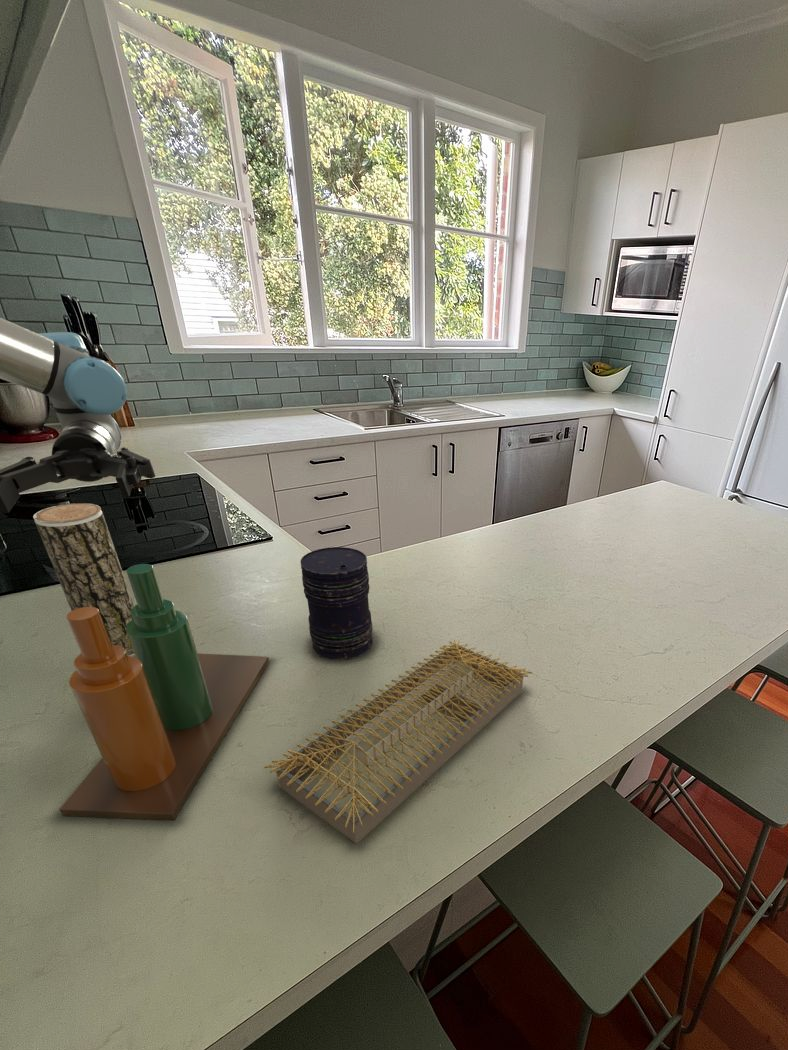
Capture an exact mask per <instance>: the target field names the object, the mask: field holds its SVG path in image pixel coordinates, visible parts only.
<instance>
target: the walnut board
mask: <svg viewBox="0 0 788 1050" xmlns="http://www.w3.org/2000/svg"><path fill="white" fill-rule="evenodd" d="M197 654H198V658H199V661H200V665H201V668H202V672H203V675H204V679H205V682H206V686H207V689H208V693H209V696H210V700H211V704H212V707H213V710H212V713H211V715H210V716H209V717H208V719H206V720H205V721H204V722H202V723H201V724H199V725H197V726H195V727H192V728H189V729H185V730H168V729H165V730H166V733H167V736H168V739H169V742H170V744H171V747H172V750H173V753H174V756H175V759H176V766H175V769H174V771H173V772H172V773H171V775H170V776H169V777H168V778H166V779H165V780H164V781H162V782H161V783H159V784H157V785H156V786H153V787H151V788H148V789H145V790H140V791H124V790H121V789H119V788H117V787H116V786H115V784H114V782H113V780H112V778H111V775H110V773H109V771H108V769H107V767H106V764H105V762H104V760H103V758H102V757H101V759H100V760H99V761H98V762H97V764H96V765H95V766H94V767H93V768H92V770H91V771H90V772H89V773H88V774H87V775H86V777H84V779H83V780H82V782H81V783H80V784H79V785H78V786H77V788H76V789H75V790H74V791H73V792H72V793H71V795H69V797H68V798H67V799H66V801H65V802H64V803H63V804H62V806H61V807H60V808H59V812H60V814H61V816H65V817H66V816H68V817H87V818H88V817H90V818H111V819H112V818H116V819H134V820H135V819H136V820H139V819H140V820H160V821H161V820H163V821H175V820H176V818H177V816H178V815H179V813H180V811H181V810H182V808H183V806H184V804H185V803H186V801H187V800H188V798H189V796H190V795H191V793H192V791H193V790H194V788H195V786H196V784H197V783H198V782H199V780H200V778H201V777H202V775H203V773H204V771H205V769H206V768H207V766H208V764H209V763H210V761H211V759H212V758H213V757H214V754H215V753H216V751H217V750H218V748H219V747H220V745H221V743H222V741H223V740H224V738H225V736H226V735H227V733H228V731H229V729H230V728H231V726H232V725H233V723H234V722H235V720H236V718H237V716H238V714H239V713H240V711H241V710H242V708H243V707H244V705H245V703H246V701H247V700H248V698H249V696H250V695H251V693H252V691H253V690H254V688H255V687H256V684H257V683H258V682H259V679H260V678H261V677H262V675H263V673H264V672H265V669H266V668H267V667H268V665H269V663H270V658H269V656H263V655H243V654H242V655H241V654H240V655H238V654H219V653H198V652H197Z"/></svg>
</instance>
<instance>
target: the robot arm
mask: <svg viewBox="0 0 788 1050" xmlns="http://www.w3.org/2000/svg"><path fill="white" fill-rule="evenodd" d="M0 379H1V380H3V381H6V382H8V383H12V384H14V385H17V386H20V387H22V388H26V389H28V390H31V391H34V392H37V393H39V394H43V395H45V396H46V397H49V400H50V401H51V403H52V406H53V410H54V412H55V414H56V416H57V419H58V421H59V424H60V426H61V428H62V430H61V432H60V433H59V435H58V437H56V439H55V441H54V442H53V444H52V447H51V455H48V456H45V457H43V458H40V459H39V461H36V460H35V459H34V457H33V456H25V457H23V458H22V459H21V460H19V461H18V462H15V463H13V464H10V465H8V466H5V467H3V468H0V513H1V514H9V513H10V512H11V510H12V509H13V508H14V506H15V505H16V503H17V502H18V500H19V499H20V498H21V494H20V493H23V492H26V491H29V490H32V489H34V488H37V487H40V486H44V485H46V484H48V483H53V484H54V483H55V484H60V483H62V482H65V481H68V480H76V481H79V482H83V483H84V482H85V483H91V482H92V483H93V482H96V481H97V482H98V481H100V480H102V479H104V478H105V479H106V478H109V477H114V478H115V481H116V483H117V487H118V489H119V490H120V491H119V492H120V494H121V496H122V499H127V498H130V497H131V492H132V489H133V485H138V484H140V481H141V480H142V477H144V478H147V479H154V478H156V474H155V470H154V469H153V464H152V462H151V459H149V458H147V457H145V456H142V455H140V454H138V453H135V452H133V451H130V448H129V447H124V446H123V447H121V444H122V441H121V440H122V433H121V429H120V426H119V424H118V422H117V421H116V420H115V419H114V417H112V415H113V414H116V413H117V412H118V411H120V410H121V409H122V408H123V407H124V405H125V403H126V401H127V397H128V390H127V386H126V383H125V380H124V378H123V377H122V375H121V374H120V372H118V370H116V369H115V368H114V367H113V366H111V365H110V363H108V362H107V361H105V360H103V359H101V358H98V357H95V356H91V355H90V351H89V350H88V349H87V347H86V345H85V343H84V340H83V338H82V336H81V335H79V334H78V333H75V332H69V331H57V332H55V331H54V332H42V333H41V332H40V333H38V332H36V331H32V330H30V329H29V328H26V327H24V326H22V325H19V324H16V323H14V322H12V321H9V320H7V319H5V318H2V317H0Z"/></svg>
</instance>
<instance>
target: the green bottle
mask: <svg viewBox="0 0 788 1050" xmlns="http://www.w3.org/2000/svg"><path fill="white" fill-rule="evenodd" d="M126 575H127V578H128V581H129V583H130V586H131V590H132V592H133V595H134V599H135V602H136V605H134V607H133V608H132V609H131V615H132V618H133V620H131V621H130V622H129V623H128V624H127V626H126V632H127V635H128V638H129V640H130V643H131V646H132V649H133V652H134V654H135V657H136V658H137V659H139V660H140V661H141V663H142V665H143V668H144V671H145V674H146V676H147V679H148V682H149V685H150V688H151V691H152V693H153V696H154V699H155V702H156V705H157V708H158V710H159V713H160V716H161V719H162V722H163V725H164V727H165V729H168V730H185V729H189V728H192V727H195V726H197V725H199V724H201V723H202V722H204V721H205V720H206V719H208V717H209V716H210V715H211V713H212V710H213V707H212V704H211V700H210V696H209V693H208V689H207V686H206V682H205V679H204V675H203V672H202V668H201V665H200V661H199V658H198V654H197V653H198V651H197V648H196V644H195V643H196V642H195V640H194V636H193V632H192V629H191V627H190V623H189V618H188V616H187V615H186V613H184V612H182V611H181V610H176V608H175V604H174V602H172V601H171V600H169V599H165V598H163V594H162V591H161V588H160V584H159V582H158V578H157V575H156V572H155V569H154V566H153V565H152V564H149V563H139V564H135V565H131V566H129V567H128V568H127V569H126Z"/></svg>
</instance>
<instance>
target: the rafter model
mask: <svg viewBox="0 0 788 1050" xmlns="http://www.w3.org/2000/svg"><path fill="white" fill-rule="evenodd" d="M448 643H449V645H448V644H443V645H442V646H440V647H439V649H440V650H434V653H436V654H432V653H431V654H430V653H429V657H430V658H427V657H424V658H423V660H424V661H425V662H421V661H420V662H419V661H418V662H417V664H418V665H419V666H411V669H413V670H415V671H412V670H404V672H405V673H406V674H408V675H401V674H398V677H399V678H400V679H401V680H398V679H391V682H392V683H395V684H384V687H386V688H388V689H381V688H378V689H377V692H380V694H375V693H370V696H371V697H372V698H374V699H367V698H363V700H362V701H364V702H365V703H366V704H365V705H363V704H358V703H356V704H355V706H356V707H357V708H359V709H357V710H354V709H347V712H348V713H351V714H350V715H349V716H348V715H342V714H339V717H340V718H342V719H343V720H342V721H336V720H331V723H332V724H334V726H333V727H329V726H325V725H323V726H322V728H323V729H324V730H325V731H326V732H324V733H319V732H316V731H314V732H313V734H314V735H315V736H316V737H317V738H315V739H311V738H308V737H305V741H307V742H309V743H308V744H306V745H304V744H303V745H302V744H299V743H296V746H297V747H298V748H300V750H298V751H294V750H291V749H287V750H286V751H287V753H289V754H287V753H284V752H283V753H282V755H283V756H284V757H285V758H286V759H275V760H271V762H272V764H266V765H264V766H263V769H271V770H269V773H270V774H271V773H276V777H277V781H278V786H279V789H281V790H282V791H283V792H285V793H286V794H288V795H289V796H290V797H292V798H294V799H295V801H297V802H298V803H300V804H301V805H302V806H304V807H305V808H307V809H308V810H309V811H311V812H312V813H313V814H315V815H317V816H318V817H320V818H321V819H322V820H323V821H325V822H326V823H328V825H330V826H332V827H333V828H334V829H336V831H338V832H339V833H341V834H342V835H344V836H345V837H346V838H347V839H349V840H351V841H352V842H353V843H354V844H358V843H359V842H361V840H363V839H364V838H365V837H366V836H367V835H368V834H369V833H370V832H372V830H374V829H375V828H376V827H377V826H378V825H379V824H380V823H381V822H382V821H383V820H384V819H385V818H386V817H388V816H389V815H390V814H391V813H392V812H393V811H394V810H395V809H396V808H397V807H398V806H400V805H401V804H402V803H403V802H404V801H405V800H407V798H408V797H410V795H412V793H413V792H415V791H416V790H417V789H418V788H419V787H420V786H421V785H422V784H423V783H425V781H427V780H428V779H429V778H430V777H431V776H432V775H433V774H434V773H436V772H437V770H438V769H439V768H441V767H442V766H443V765H444V764H446V762H447V761H448V760H449V759H451V758H452V757H453V756H454V755H456V753H457V752H458V751H459V750H460V749H461V748H463V747H464V746H465V745H466V744H467V743H468V742H469V741H470V740H471V739H472V738H473V737H474V736H476V735H477V734H478V733H479V732H480V731H481V730H482V729H483V728H484V727H485V726H487V724H489V722H491V721H492V720H493V719H494V718H495V717H496V716H497V715H499V713H500V712H502V711H503V709H505V708H506V707H507V706H508V705H509V704H511V703H512V702H513V700H514V699H516V698H517V697H518V696H519V695H520V694H521V693H522V692H523V684H524V677H526V678H529V674H533V671H529V670H526V668H517V667H518V664H515V665H512V666H507V665H508V664H509V661H505V662H501V663H500V662H498V661H500V660H501V657H498V658H497V657H496V658H494V659H491V657H492V653H491V654H486V655H482V654H483V653H484V652H485V651H484V650H481V651H476V652H475V651H474V650H476V647H475V646H474V647H470V648H467V646H468V643H465V644H460V643H461V640H459V641H458V642H456V640H455V638H453V642H452V641H451V640H450V641H448ZM450 676H451V677H450ZM452 677H454V678H456V679H458V680H456V679H454V678H452ZM484 677H485V678H487V679H485V678H484ZM474 678H476V679H474ZM489 679H490V680H492V681H490V680H489ZM444 680H445V681H446V682H445V681H444ZM478 681H482V682H481V684H480V683H479V682H478ZM447 682H448V683H447ZM484 682H486V683H487V684H488V685H490V686H487V685H484ZM449 683H450V684H449ZM451 684H452V685H451ZM474 685H476V689H475V688H473V687H472V686H474ZM478 686H479V687H481V688H482V689H483V690H484V691H482V690H478V688H479V687H478ZM467 690H470V694H469V693H467V692H466V691H467ZM473 691H474V692H475V694H477V695H478V696H477V695H473V694H472V693H473ZM492 693H494V694H495V695H493V694H492ZM487 694H488V695H487ZM467 696H468V697H467ZM484 696H485V697H487V698H488V699H490V700H488V699H486V698H485V697H484ZM426 699H427V700H428V701H429V702H427V700H426ZM479 702H480V703H479ZM481 703H483V704H484V705H483V704H481ZM418 704H419V705H420V706H423V708H421V707H420V706H419V705H418ZM407 707H408V708H407ZM409 708H410V709H411V710H414V711H416V713H415V714H414V713H413V712H412V711H411V710H410V709H409ZM440 708H441V709H440ZM444 710H445V711H444ZM440 711H444V712H445V714H444V713H441V712H440ZM447 712H449V713H450V714H451V715H452V716H453V717H452V716H449V715H447ZM400 713H402V714H404V715H406V716H407V717H409V718H408V719H406V718H405V717H404V716H403V715H401V714H400ZM433 713H434V714H433ZM435 713H436V714H435ZM456 715H457V716H456ZM435 716H438V720H437V719H436V718H433V717H435ZM458 716H459V717H461V718H462V719H465V720H466V721H464V722H463V721H462V720H461V719H460V718H458ZM440 717H441V718H442V719H443V720H445V721H446V722H443V721H441V720H440V719H441V718H440ZM392 718H394V719H396V720H398V721H399V722H401V724H400V725H398V724H397V723H396V722H395V721H394V720H393V719H392ZM427 718H429V719H427ZM449 720H450V721H451V722H453V723H455V724H457V725H458V727H456V726H454V724H453V723H451V722H450V721H449ZM426 722H431V725H429V724H427V723H426ZM434 723H435V724H436V726H438V728H437V727H434ZM384 724H387V725H389V726H390V727H393V728H395V729H394V730H393V731H390V730H389V729H388V728H387V727H386V726H385V725H384ZM419 724H422V725H419ZM418 725H419V726H418ZM441 725H442V726H441ZM422 727H424V731H422V730H420V728H422ZM444 727H446V728H448V729H449V730H451V731H452V733H449V732H448V731H447V730H446V729H444ZM413 729H414V731H412V730H413ZM426 729H428V731H429V732H431V733H432V734H431V733H428V732H427V730H426ZM376 730H380V731H382V732H384V734H387V735H386V736H385V737H384V738H383V737H381V735H379V733H377V732H376ZM434 731H436V732H437V733H439V734H440V735H443V736H445V739H444V740H443V738H441V737H440V736H438V735H437V733H435V732H434ZM443 732H444V733H443ZM415 733H416V737H415V736H413V735H412V734H415ZM370 735H371V736H372V737H373V738H375V739H377V740H379V741H378V742H377V743H376V744H373V742H371V741H370V739H368V737H369V736H370ZM419 735H420V736H421V737H422V738H423V739H424V740H423V739H420V738H419ZM404 736H407V737H405V738H404ZM426 736H427V737H429V739H432V740H433V741H435V742H437V743H439V744H438V745H435V744H434V743H432V741H430V740H429V739H428V738H427V737H426ZM404 740H409V743H407V742H405V741H404ZM360 742H364V743H365V744H367V745H368V746H369V747H371V748H369V749H368V750H367V751H365V750H364V749H363V748H362V747H361V746H360V745H359V743H360ZM397 742H399V743H398V744H396V743H397ZM412 742H413V743H414V744H415V745H417V746H414V745H412ZM418 742H419V743H421V744H422V745H424V746H426V747H428V748H430V749H432V750H431V751H430V752H428V751H427V750H426V749H424V747H422V746H421V745H420V744H419V743H418ZM397 746H401V750H400V749H399V748H397ZM404 748H405V749H406V751H409V753H408V752H405V751H404ZM409 748H411V749H412V750H414V751H416V752H418V753H420V754H421V755H423V756H424V757H423V758H422V759H420V758H419V757H418V756H417V755H416V754H415V753H414V752H412V750H411V749H409ZM389 749H391V750H389ZM338 750H339V751H341V752H342V755H341V756H339V757H338ZM422 751H423V752H422ZM334 752H335V753H334ZM391 752H393V756H392V755H390V754H388V753H391ZM398 752H399V753H398ZM400 753H401V754H403V755H404V756H405V757H408V758H409V759H411V760H413V761H415V762H416V764H415V765H414V766H413V765H412V764H410V763H409V761H407V760H406V759H405V758H404V757H403V756H402V755H401V754H400ZM381 755H382V757H380V756H381ZM396 755H397V756H398V757H400V758H401V759H402V760H401V759H399V758H396ZM344 756H346V757H347V758H348V760H349V761H350V763H349V764H347V763H345V762H344V761H342V760H341V759H342V758H344ZM351 758H352V760H351ZM329 759H330V760H332V761H333V762H335V763H331V764H330V762H329ZM383 759H384V760H385V761H384V762H382V761H380V760H383ZM391 759H392V760H394V761H395V762H397V763H398V764H399V765H400V764H401V765H402V766H403V767H405V768H407V769H409V770H408V771H407V772H406V773H405V772H403V771H402V770H401V769H400V768H399V767H398V765H396V764H395V763H394V762H392V760H391ZM355 761H356V766H355V763H354V762H355ZM387 761H388V762H389V763H391V765H392V766H391V765H388V763H387ZM372 762H373V764H371V763H372ZM378 763H379V764H378ZM322 764H324V765H325V766H327V767H328V768H330V769H329V770H328V769H327V768H325V767H324V766H322ZM359 764H360V765H361V766H362V767H363V768H364V769H365V770H362V771H360V768H359ZM380 764H381V765H382V766H384V767H385V768H387V769H388V770H390V771H392V772H394V773H395V774H397V775H399V776H401V777H400V778H399V779H398V780H395V779H394V778H393V777H392V776H391V775H390V774H389V772H387V771H386V769H384V768H383V767H382V766H381V765H380ZM406 764H407V765H406ZM336 765H338V766H339V768H340V769H341V771H342V772H340V771H338V770H337V769H336V768H335V767H336ZM351 765H352V766H353V767H352V766H351ZM373 766H376V769H374V768H372V767H373ZM393 766H394V767H393ZM272 768H273V769H272ZM379 768H380V769H381V770H382V772H384V773H385V774H384V773H381V772H380V771H379ZM312 769H313V771H312V772H311V773H310V774H309V776H308V777H307V778H305V780H304V781H301V780H300V779H299V778H301V777H302V776H304V775H305V774H306V773H308V772H309V771H310V770H312ZM322 770H323V771H322ZM332 770H333V771H334V772H336V773H338V774H339V775H338V776H337V775H335V773H333V772H332ZM346 771H347V773H348V774H347V773H346ZM371 771H372V772H373V773H372V772H371ZM315 772H316V773H317V774H315ZM362 773H367V775H368V777H367V776H365V775H363V774H362ZM374 773H376V774H377V775H378V776H380V777H382V778H384V779H385V780H386V781H388V782H390V783H391V784H392V785H391V786H390V787H387V786H386V785H385V784H384V783H383V782H382V781H381V780H380V779H379V778H378V777H376V775H374ZM314 774H315V775H314ZM351 774H353V776H352V777H351ZM320 775H321V776H322V778H321V779H320V780H319V781H318V782H317V783H316V784H315V786H314V787H313V788H312V787H310V786H309V784H310V783H311V782H312V781H314V780H316V779H317V778H318V777H319V776H320ZM359 775H360V776H359ZM370 775H371V776H372V777H373V778H374V779H376V780H377V781H376V780H374V779H371V776H370ZM341 777H343V778H345V779H346V780H347V781H349V782H348V783H347V782H346V781H345V780H343V779H342V778H341ZM362 777H363V778H364V779H366V780H368V782H370V783H372V784H373V785H375V786H377V787H378V788H380V789H381V790H383V791H384V792H383V793H382V794H381V795H379V794H378V793H377V792H376V791H375V790H374V789H373V788H372V787H371V786H370V785H369V784H368V783H367V782H366V781H364V779H363V778H362ZM355 778H356V781H355ZM325 779H327V780H325ZM323 780H325V781H323ZM359 780H360V781H361V782H362V783H363V784H364V785H365V786H363V785H361V784H359ZM329 782H331V785H330V786H329V787H328V788H327V789H326V791H325V792H324V793H323V794H320V793H318V791H319V790H320V789H322V788H323V787H324V786H325V785H327V784H328V783H329ZM351 783H352V784H353V785H356V786H357V787H358V788H360V789H362V790H363V791H365V792H366V793H367V794H369V795H370V796H372V797H373V798H375V800H374V801H372V802H370V801H369V800H368V799H367V798H366V797H365V796H364V795H363V794H362V793H361V792H360V791H359V790H358V789H357V788H356V787H355V786H352V785H350V784H351ZM334 785H336V787H334ZM318 786H319V787H318ZM366 786H367V787H366ZM332 787H333V788H332ZM339 788H340V789H342V790H341V791H340V793H339V794H338V795H337V796H336V798H335V799H334V800H333V801H332V802H331V801H330V800H329V799H327V798H328V797H329V796H331V794H332V793H334V792H335V791H336V790H338V789H339ZM344 791H345V792H346V793H344ZM370 791H371V792H370ZM343 793H344V794H343ZM348 795H351V796H352V797H351V798H350V800H349V801H348V802H347V803H346V804H345V806H343V808H342V809H341V808H340V807H338V806H337V804H338V803H340V802H342V801H343V800H344V799H345V798H346V797H347V796H348ZM338 799H339V800H338ZM365 805H366V806H367V807H366V806H365ZM357 807H358V808H360V810H362V811H361V812H359V811H358V809H357ZM349 810H350V811H349ZM347 811H349V813H347Z"/></svg>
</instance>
